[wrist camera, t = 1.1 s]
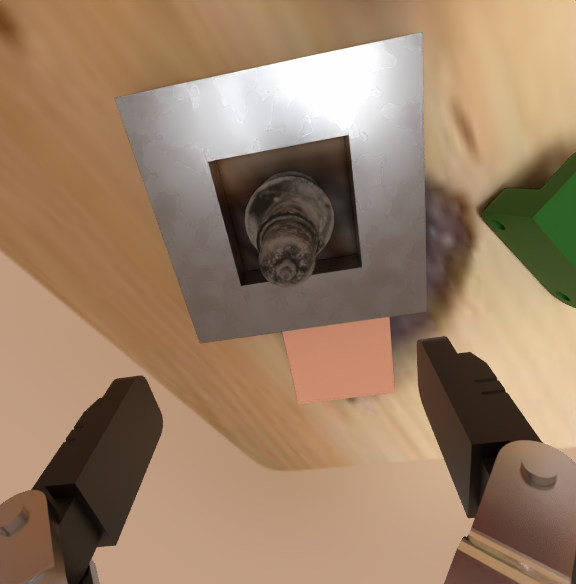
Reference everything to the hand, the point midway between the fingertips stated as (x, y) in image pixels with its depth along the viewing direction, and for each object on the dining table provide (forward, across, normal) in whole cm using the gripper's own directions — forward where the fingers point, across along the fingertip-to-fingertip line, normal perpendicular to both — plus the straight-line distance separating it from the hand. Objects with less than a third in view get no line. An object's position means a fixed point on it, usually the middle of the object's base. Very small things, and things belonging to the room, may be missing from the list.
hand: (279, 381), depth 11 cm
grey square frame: (+19, 0, 0) cm, 19 cm away
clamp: (+20, -19, +4) cm, 28 cm away
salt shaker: (+19, 0, 0) cm, 19 cm away
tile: (+19, -2, +14) cm, 24 cm away
